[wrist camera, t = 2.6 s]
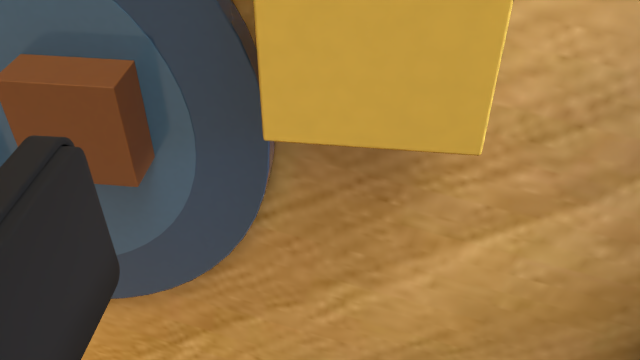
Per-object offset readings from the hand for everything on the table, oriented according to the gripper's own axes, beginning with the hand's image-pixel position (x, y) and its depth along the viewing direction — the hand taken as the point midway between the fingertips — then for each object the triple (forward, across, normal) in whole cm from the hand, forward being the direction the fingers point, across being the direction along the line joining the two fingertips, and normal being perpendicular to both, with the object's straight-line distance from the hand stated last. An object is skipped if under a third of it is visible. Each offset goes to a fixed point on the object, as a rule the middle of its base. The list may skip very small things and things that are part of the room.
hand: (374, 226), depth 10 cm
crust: (+12, +11, +6) cm, 17 cm away
